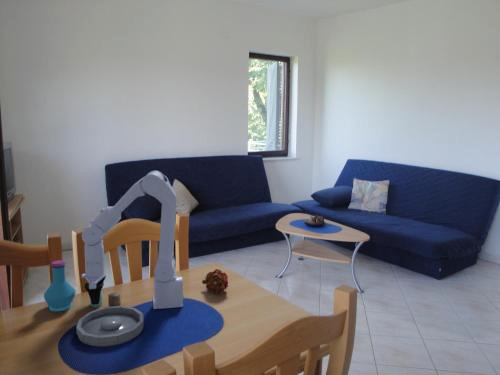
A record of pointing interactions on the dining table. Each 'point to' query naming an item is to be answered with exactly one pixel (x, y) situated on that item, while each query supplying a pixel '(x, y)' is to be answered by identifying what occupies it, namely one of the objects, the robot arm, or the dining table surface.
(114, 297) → the bead walnut
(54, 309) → the perfume bottle
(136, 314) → the tray
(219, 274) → the brown pine cone
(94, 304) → the bead teal
